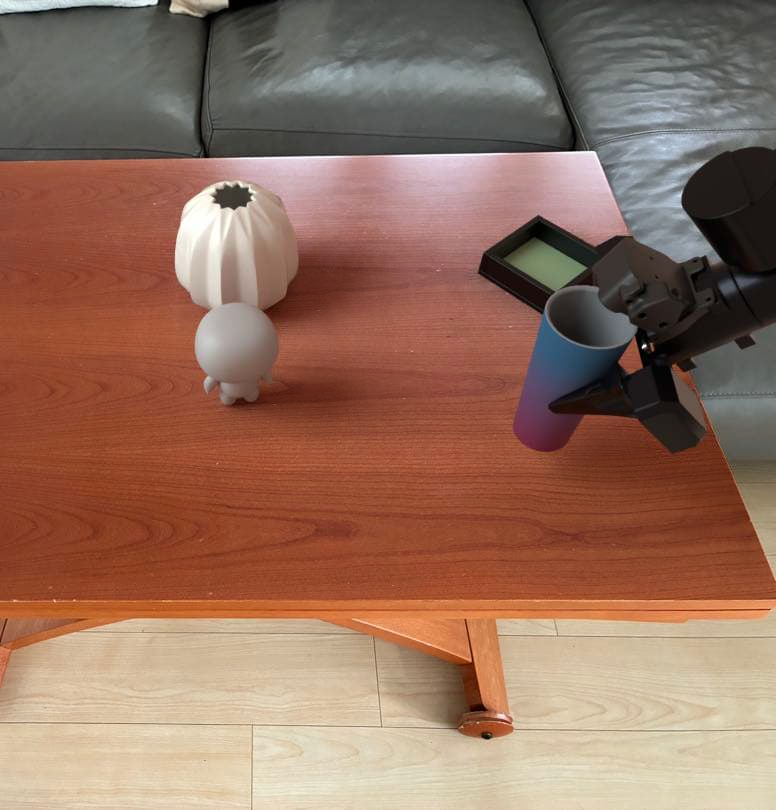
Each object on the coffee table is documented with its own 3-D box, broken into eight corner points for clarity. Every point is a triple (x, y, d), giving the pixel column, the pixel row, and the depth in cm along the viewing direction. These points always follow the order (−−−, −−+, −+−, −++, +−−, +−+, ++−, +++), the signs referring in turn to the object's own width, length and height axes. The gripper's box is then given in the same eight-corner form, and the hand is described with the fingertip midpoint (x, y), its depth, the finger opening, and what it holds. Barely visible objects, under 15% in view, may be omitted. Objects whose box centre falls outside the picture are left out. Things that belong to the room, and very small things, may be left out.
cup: (583, 464, 68) (645, 352, 56) (504, 456, 69) (548, 345, 57) (575, 404, 72) (631, 288, 60) (501, 397, 73) (541, 282, 61)
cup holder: (603, 277, 90) (612, 256, 87) (549, 319, 86) (557, 298, 83) (531, 235, 95) (538, 214, 92) (477, 273, 91) (483, 252, 88)
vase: (310, 264, 93) (315, 169, 82) (271, 344, 85) (271, 251, 75) (206, 240, 96) (197, 146, 86) (159, 315, 89) (144, 222, 78)
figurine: (270, 367, 83) (269, 285, 74) (284, 422, 78) (286, 342, 69) (196, 379, 82) (186, 298, 73) (206, 435, 78) (197, 356, 68)
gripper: (666, 145, 57) (483, 252, 67) (732, 326, 46) (500, 422, 56) (730, 234, 62) (552, 321, 72) (803, 415, 51) (580, 489, 61)
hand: (546, 380), depth 65 cm, fingers closed on cup, 6 cm apart
